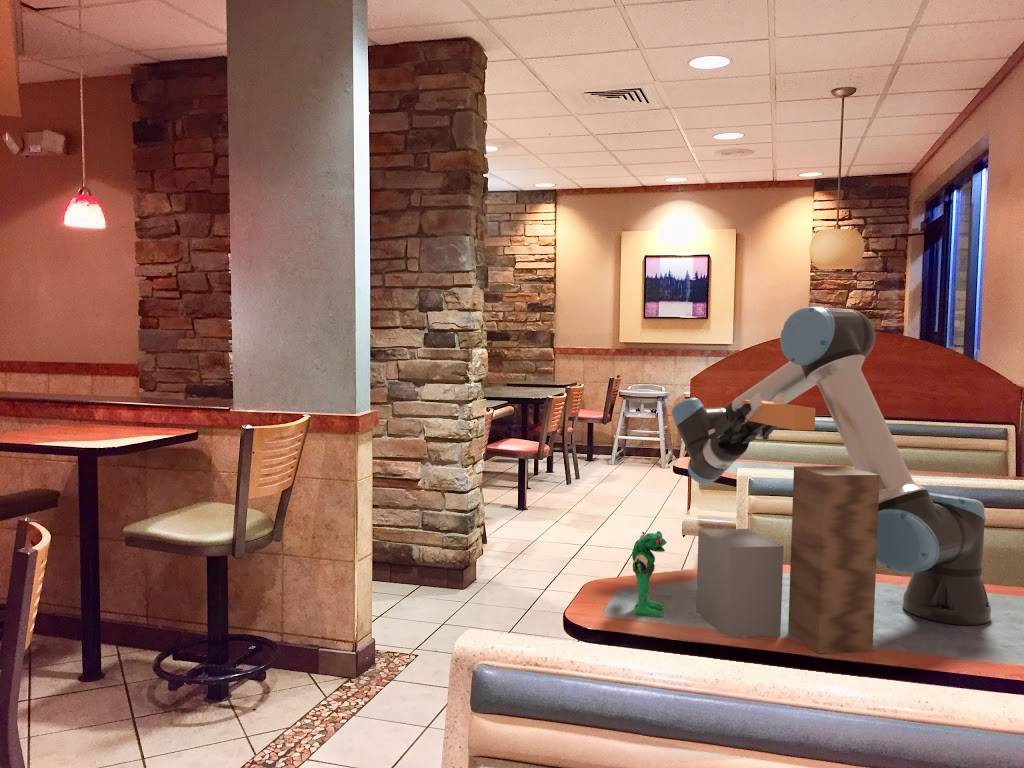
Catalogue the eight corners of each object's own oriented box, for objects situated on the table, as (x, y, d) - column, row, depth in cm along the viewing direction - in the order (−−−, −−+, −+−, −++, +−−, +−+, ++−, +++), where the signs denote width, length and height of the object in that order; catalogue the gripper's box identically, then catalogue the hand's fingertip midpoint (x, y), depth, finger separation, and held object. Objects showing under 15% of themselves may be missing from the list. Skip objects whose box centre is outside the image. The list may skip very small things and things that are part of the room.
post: (839, 630, 149) (845, 466, 147) (872, 651, 139) (879, 474, 137) (788, 633, 147) (793, 466, 145) (818, 653, 137) (824, 475, 136)
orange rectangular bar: (759, 419, 170) (760, 400, 170) (814, 430, 149) (815, 408, 148) (741, 419, 170) (741, 399, 169) (794, 430, 148) (794, 407, 148)
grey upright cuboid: (744, 610, 159) (747, 528, 159) (780, 635, 146) (783, 546, 145) (696, 612, 158) (698, 529, 157) (727, 637, 144) (730, 547, 143)
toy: (663, 634, 145) (665, 550, 144) (626, 631, 146) (628, 548, 145) (665, 592, 170) (667, 520, 169) (634, 590, 171) (636, 518, 171)
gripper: (765, 461, 181) (815, 417, 161) (691, 461, 179) (733, 416, 158) (758, 430, 185) (806, 383, 164) (686, 430, 182) (726, 381, 162)
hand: (770, 399), depth 161 cm, fingers closed on orange rectangular bar, 4 cm apart
